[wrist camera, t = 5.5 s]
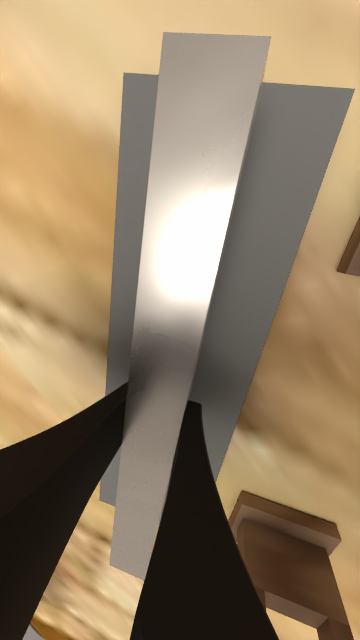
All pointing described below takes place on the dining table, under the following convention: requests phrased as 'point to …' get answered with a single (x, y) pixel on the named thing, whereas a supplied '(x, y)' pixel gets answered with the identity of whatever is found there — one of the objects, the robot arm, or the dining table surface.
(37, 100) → the dining table surface
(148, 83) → the long grey plate
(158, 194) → the steel rail
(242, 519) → the cradle rack
